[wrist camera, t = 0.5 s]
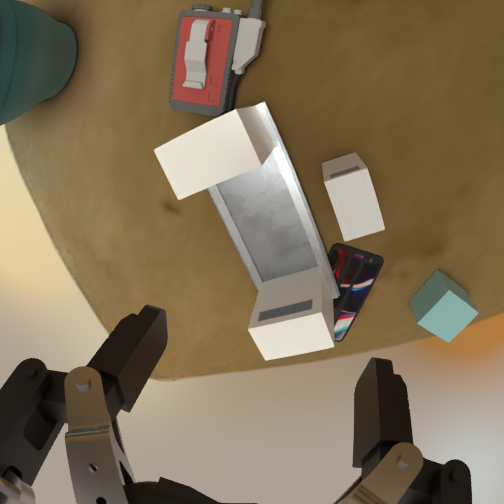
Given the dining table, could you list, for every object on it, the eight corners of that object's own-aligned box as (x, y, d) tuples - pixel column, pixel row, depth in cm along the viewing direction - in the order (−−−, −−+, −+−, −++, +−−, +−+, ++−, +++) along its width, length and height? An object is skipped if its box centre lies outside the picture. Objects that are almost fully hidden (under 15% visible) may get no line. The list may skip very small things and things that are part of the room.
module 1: (255, 105, 30) (235, 108, 23) (274, 148, 32) (262, 166, 24) (190, 134, 33) (153, 149, 25) (209, 174, 35) (178, 200, 27)
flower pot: (76, -21, 25) (-15, -37, 10) (115, 69, 31) (10, 74, 17) (6, 55, 31) (-76, 68, 16) (36, 139, 38) (-50, 174, 23)
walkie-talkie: (248, 125, 33) (281, -42, 20) (236, 136, 30) (272, -54, 17) (177, 112, 34) (200, -46, 21) (158, 121, 31) (181, -55, 18)
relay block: (437, 268, 36) (466, 291, 37) (409, 300, 39) (439, 319, 40) (449, 289, 32) (478, 312, 33) (417, 323, 35) (448, 342, 36)
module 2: (321, 265, 38) (321, 311, 30) (332, 297, 40) (334, 347, 32) (261, 282, 40) (247, 328, 33) (275, 312, 42) (265, 360, 35)
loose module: (355, 151, 32) (367, 167, 25) (371, 201, 34) (385, 229, 27) (321, 162, 33) (323, 181, 26) (338, 211, 36) (344, 242, 29)
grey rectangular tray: (266, 101, 31) (264, 101, 30) (339, 290, 40) (340, 296, 39) (187, 137, 34) (182, 139, 33) (269, 308, 44) (268, 314, 42)
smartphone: (386, 258, 37) (341, 343, 44) (385, 256, 37) (341, 340, 45) (333, 241, 37) (295, 331, 45) (332, 239, 38) (296, 328, 45)
